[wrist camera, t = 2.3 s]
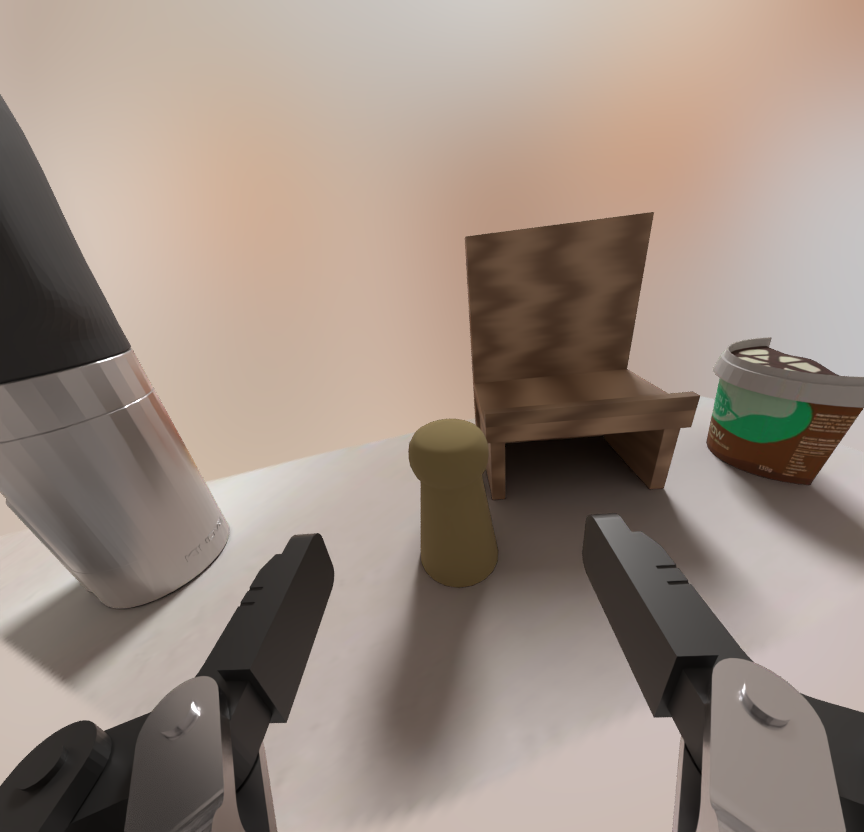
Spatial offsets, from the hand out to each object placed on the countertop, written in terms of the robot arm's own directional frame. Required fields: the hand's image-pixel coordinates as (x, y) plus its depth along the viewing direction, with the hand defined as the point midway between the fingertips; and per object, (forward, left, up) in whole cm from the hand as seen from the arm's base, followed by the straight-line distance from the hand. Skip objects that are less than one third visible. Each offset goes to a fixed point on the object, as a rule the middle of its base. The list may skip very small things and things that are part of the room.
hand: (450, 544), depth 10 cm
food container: (+28, +20, -13) cm, 37 cm away
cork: (0, +10, -13) cm, 16 cm away
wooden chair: (+11, +20, -13) cm, 26 cm away
